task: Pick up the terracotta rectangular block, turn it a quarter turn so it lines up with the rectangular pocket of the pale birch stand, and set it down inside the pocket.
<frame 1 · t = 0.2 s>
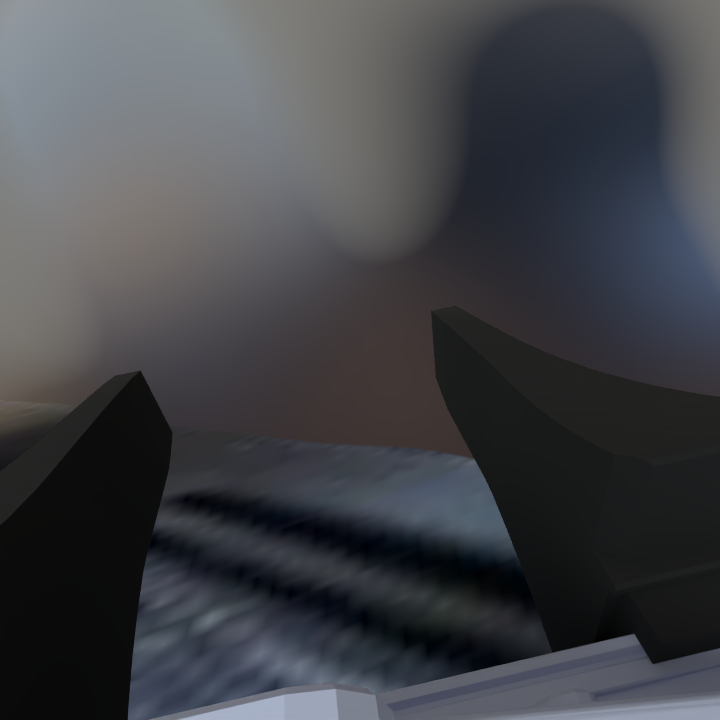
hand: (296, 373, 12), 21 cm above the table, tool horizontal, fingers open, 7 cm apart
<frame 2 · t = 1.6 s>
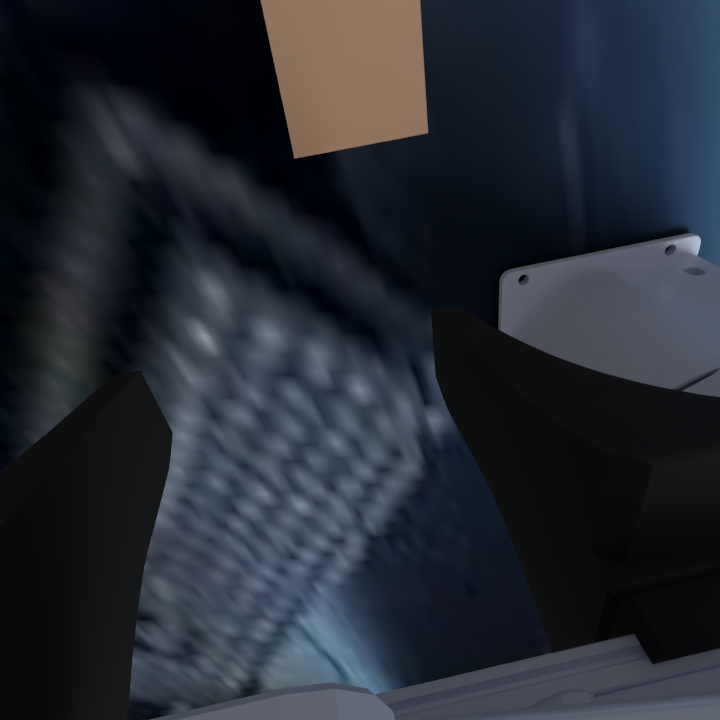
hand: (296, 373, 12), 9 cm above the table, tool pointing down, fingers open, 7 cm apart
keyed block: (328, 28, 16), on the table
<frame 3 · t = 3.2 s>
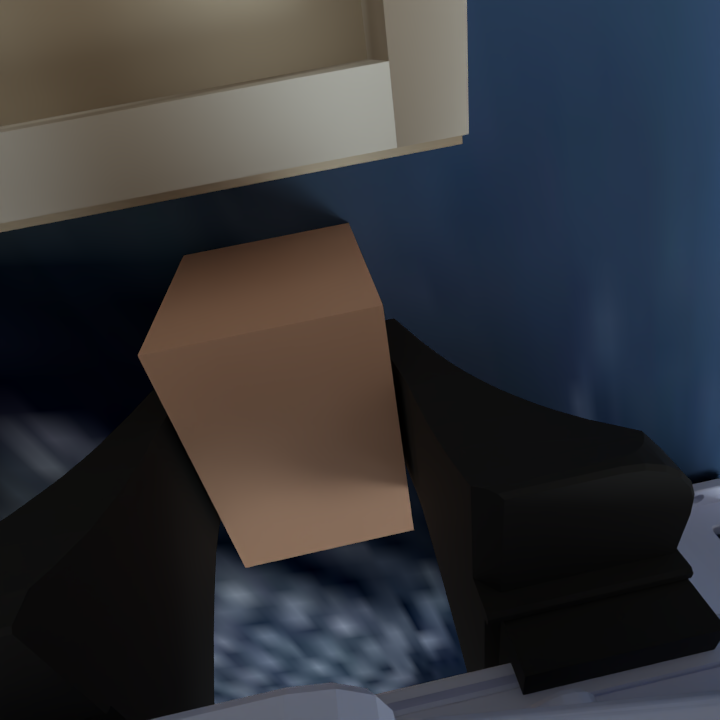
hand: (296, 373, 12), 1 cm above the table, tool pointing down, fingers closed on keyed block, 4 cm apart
keyed block: (295, 342, 13), on the table, touching gripper
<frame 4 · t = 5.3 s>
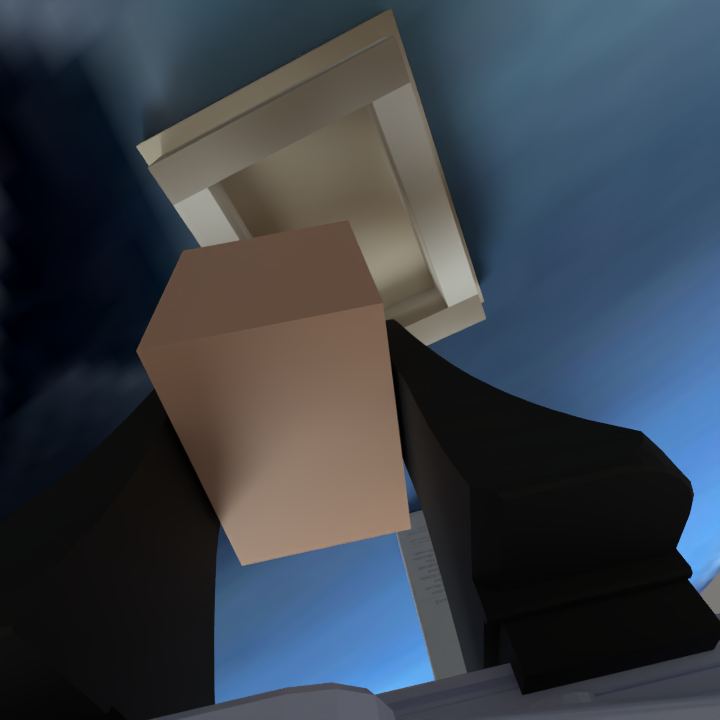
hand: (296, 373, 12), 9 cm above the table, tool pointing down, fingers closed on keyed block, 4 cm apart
skincare box: (429, 532, 31), on the table
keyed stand: (332, 227, 18), on the table
keyed block: (293, 340, 13), point 7 cm above the table, touching gripper
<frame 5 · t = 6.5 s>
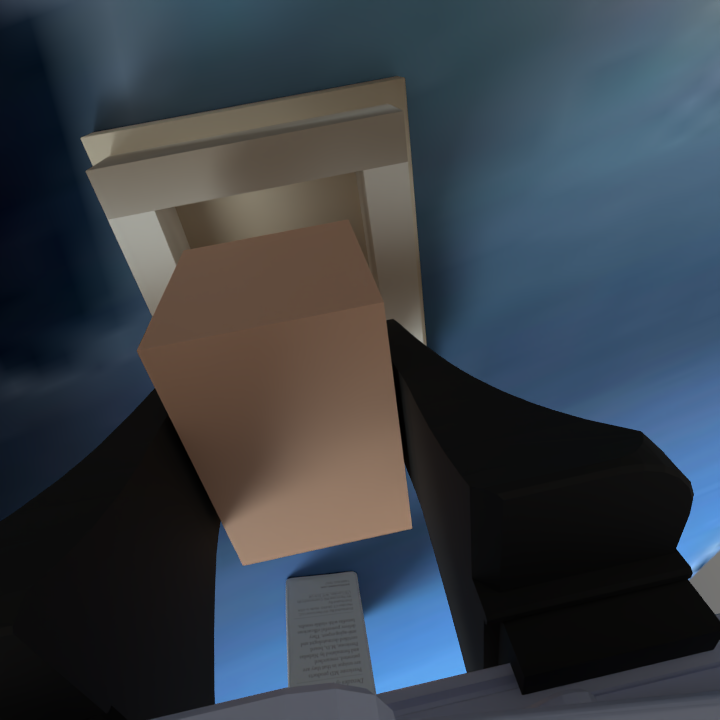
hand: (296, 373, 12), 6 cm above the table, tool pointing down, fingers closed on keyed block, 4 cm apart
skincare box: (321, 597, 29), on the table
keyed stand: (290, 276, 17), on the table
keyed block: (294, 339, 13), point 5 cm above the table, touching gripper
when the fingers open (4 cm above the table, at t = 7.4 s): keyed block drops 1 cm, resting on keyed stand.
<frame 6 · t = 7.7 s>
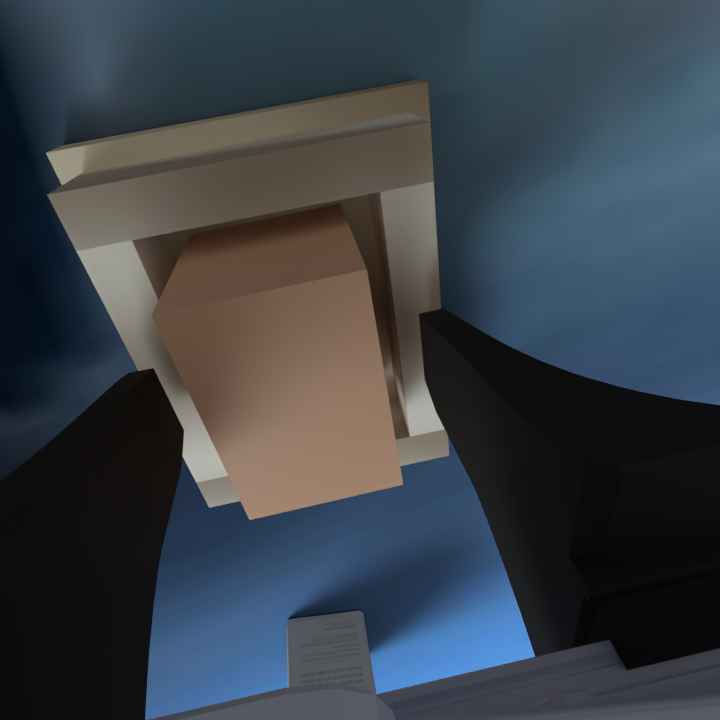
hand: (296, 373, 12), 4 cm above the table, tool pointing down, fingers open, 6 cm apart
skincare box: (325, 636, 27), on the table
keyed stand: (292, 305, 15), on the table
keyed block: (293, 317, 14), point 1 cm above the table, touching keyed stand
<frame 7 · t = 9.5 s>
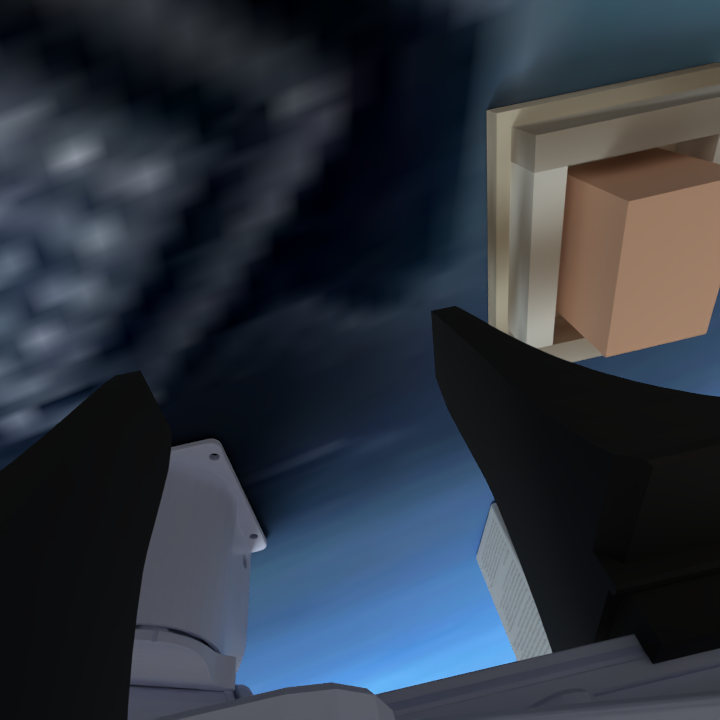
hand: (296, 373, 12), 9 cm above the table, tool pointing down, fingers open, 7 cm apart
skincare box: (509, 524, 33), on the table
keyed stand: (585, 227, 21), on the table
keyed block: (598, 232, 20), point 1 cm above the table, touching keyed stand
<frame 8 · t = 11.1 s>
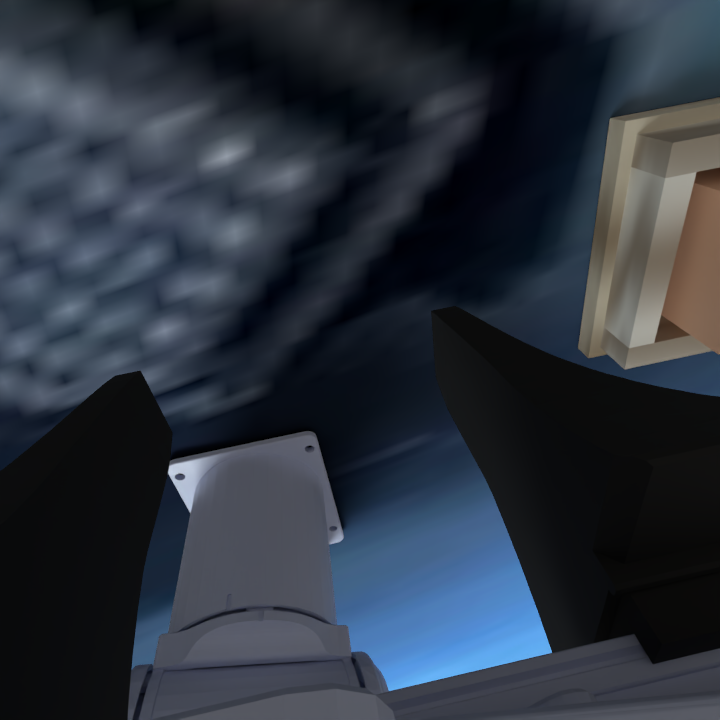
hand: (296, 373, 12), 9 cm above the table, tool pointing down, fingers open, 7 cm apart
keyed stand: (684, 230, 22), on the table
keyed block: (700, 236, 21), point 1 cm above the table, touching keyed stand
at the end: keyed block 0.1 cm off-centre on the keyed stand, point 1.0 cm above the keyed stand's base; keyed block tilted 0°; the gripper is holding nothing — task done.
